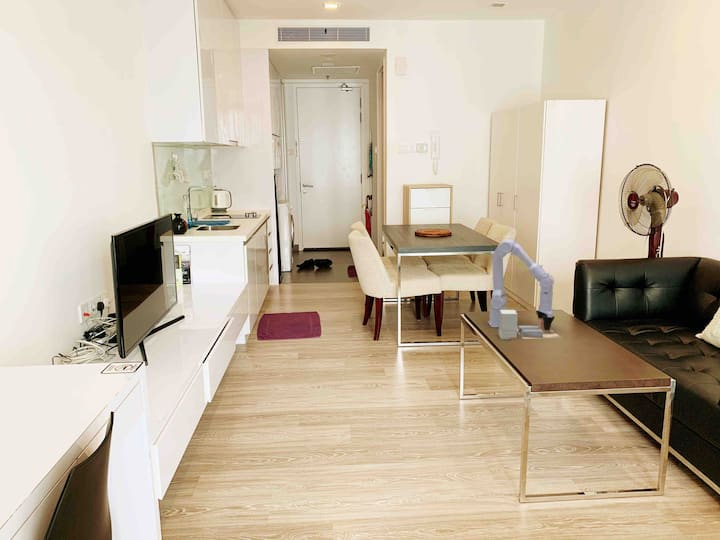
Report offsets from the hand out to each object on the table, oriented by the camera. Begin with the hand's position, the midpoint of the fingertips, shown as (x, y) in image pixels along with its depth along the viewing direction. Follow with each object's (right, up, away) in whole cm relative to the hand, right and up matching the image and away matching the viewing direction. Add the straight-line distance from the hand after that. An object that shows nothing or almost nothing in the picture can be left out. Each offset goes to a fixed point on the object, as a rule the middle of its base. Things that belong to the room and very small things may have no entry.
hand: (544, 327), depth 269 cm
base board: (-5, -3, -4) cm, 7 cm away
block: (0, -1, 0) cm, 1 cm away
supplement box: (-20, -4, -8) cm, 22 cm away
